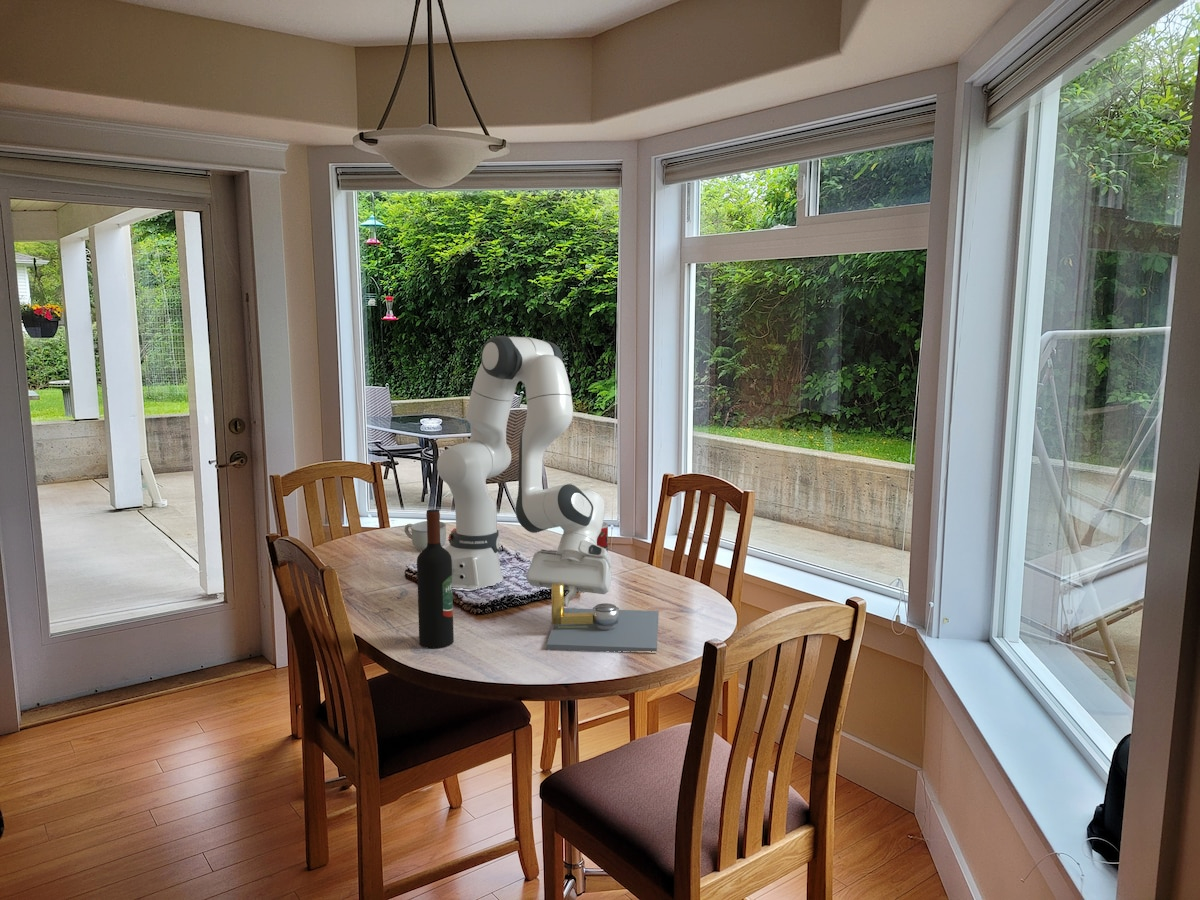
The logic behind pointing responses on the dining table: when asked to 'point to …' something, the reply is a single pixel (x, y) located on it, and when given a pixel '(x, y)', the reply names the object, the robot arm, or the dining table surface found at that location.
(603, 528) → the canned food
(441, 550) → the wine bottle
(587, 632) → the base
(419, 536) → the teacup
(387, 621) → the dining table surface
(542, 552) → the robot arm
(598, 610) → the door handle
